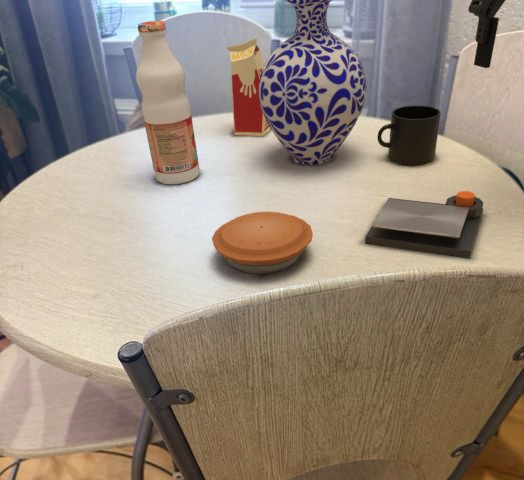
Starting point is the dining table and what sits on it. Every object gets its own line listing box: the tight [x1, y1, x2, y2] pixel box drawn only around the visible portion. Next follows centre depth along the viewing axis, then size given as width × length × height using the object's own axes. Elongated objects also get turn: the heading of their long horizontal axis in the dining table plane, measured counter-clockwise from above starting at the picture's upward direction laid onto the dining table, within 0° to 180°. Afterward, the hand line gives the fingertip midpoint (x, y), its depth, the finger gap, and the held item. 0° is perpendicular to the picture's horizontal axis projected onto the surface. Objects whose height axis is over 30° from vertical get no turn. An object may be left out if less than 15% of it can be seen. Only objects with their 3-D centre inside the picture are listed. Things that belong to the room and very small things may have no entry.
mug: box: [377, 104, 441, 166], centre depth 108 cm, size 9×12×9 cm
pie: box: [211, 211, 314, 275], centre depth 83 cm, size 15×16×5 cm
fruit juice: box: [135, 20, 200, 185], centre depth 103 cm, size 9×9×28 cm
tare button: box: [455, 190, 476, 207], centre depth 87 cm, size 3×3×2 cm
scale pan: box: [371, 198, 469, 238], centre depth 84 cm, size 13×10×1 cm
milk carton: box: [225, 37, 271, 137], centre depth 126 cm, size 9×9×20 cm
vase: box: [259, 0, 368, 166], centre depth 106 cm, size 22×22×30 cm
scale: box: [364, 194, 484, 259], centre depth 86 cm, size 16×15×3 cm
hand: (516, 59), depth 84 cm, fingers open, 13 cm apart
